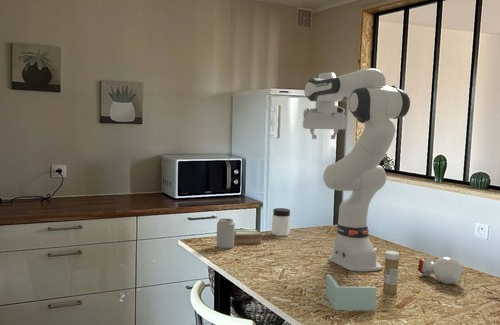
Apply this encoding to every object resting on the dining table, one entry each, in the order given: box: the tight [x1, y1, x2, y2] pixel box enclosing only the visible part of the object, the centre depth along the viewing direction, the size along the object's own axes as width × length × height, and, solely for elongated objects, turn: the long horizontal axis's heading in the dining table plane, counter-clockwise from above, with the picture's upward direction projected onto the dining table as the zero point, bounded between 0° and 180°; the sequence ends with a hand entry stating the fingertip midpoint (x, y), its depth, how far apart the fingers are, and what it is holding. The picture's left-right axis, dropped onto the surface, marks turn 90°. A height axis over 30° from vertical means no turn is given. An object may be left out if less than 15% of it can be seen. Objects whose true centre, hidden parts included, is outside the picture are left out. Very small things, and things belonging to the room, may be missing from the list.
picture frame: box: [234, 228, 262, 245], centre depth 212 cm, size 10×12×4 cm
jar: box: [271, 207, 291, 237], centre depth 227 cm, size 9×8×12 cm
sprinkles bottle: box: [382, 250, 400, 295], centre depth 152 cm, size 5×5×14 cm
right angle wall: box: [325, 273, 377, 312], centre depth 143 cm, size 12×12×8 cm
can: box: [216, 218, 236, 250], centre depth 201 cm, size 8×8×12 cm
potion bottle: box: [417, 256, 463, 285], centre depth 166 cm, size 9×10×15 cm
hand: (323, 139), depth 215 cm, fingers open, 8 cm apart
